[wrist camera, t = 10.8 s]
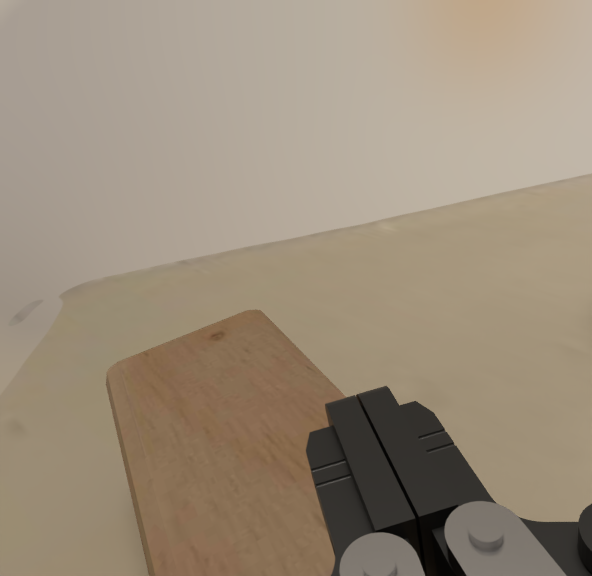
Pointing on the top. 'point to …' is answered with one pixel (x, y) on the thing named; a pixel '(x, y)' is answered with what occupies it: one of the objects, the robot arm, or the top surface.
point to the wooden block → (224, 451)
